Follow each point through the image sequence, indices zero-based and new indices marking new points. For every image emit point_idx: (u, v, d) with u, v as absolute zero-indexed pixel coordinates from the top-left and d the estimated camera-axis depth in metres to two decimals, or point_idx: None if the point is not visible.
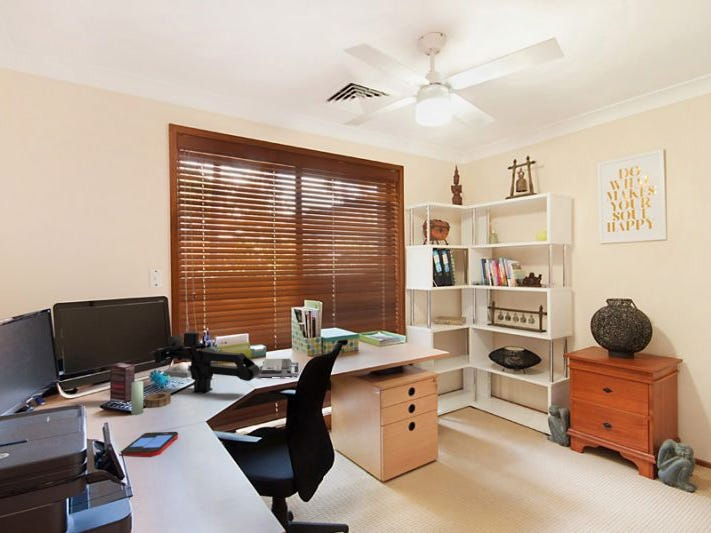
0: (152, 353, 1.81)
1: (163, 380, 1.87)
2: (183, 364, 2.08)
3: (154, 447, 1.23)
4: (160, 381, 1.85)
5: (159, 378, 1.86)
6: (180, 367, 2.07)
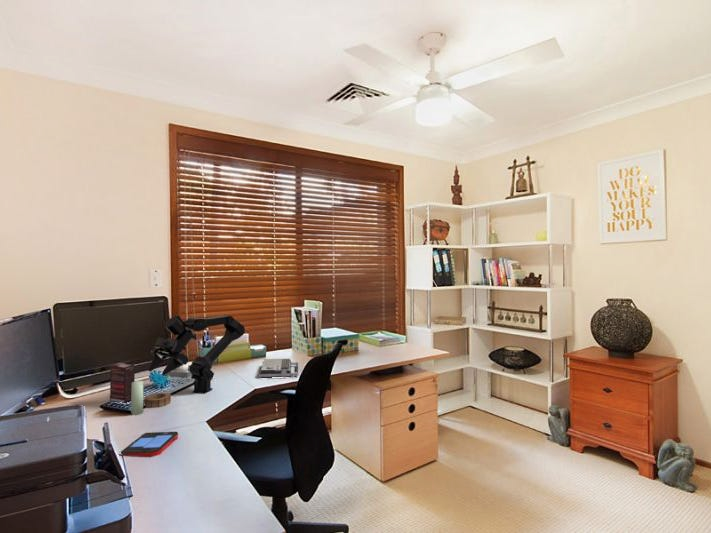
0: (168, 367, 1.60)
1: (163, 380, 1.87)
2: None
3: (154, 447, 1.23)
4: (160, 381, 1.85)
5: (159, 378, 1.86)
6: (180, 367, 2.07)
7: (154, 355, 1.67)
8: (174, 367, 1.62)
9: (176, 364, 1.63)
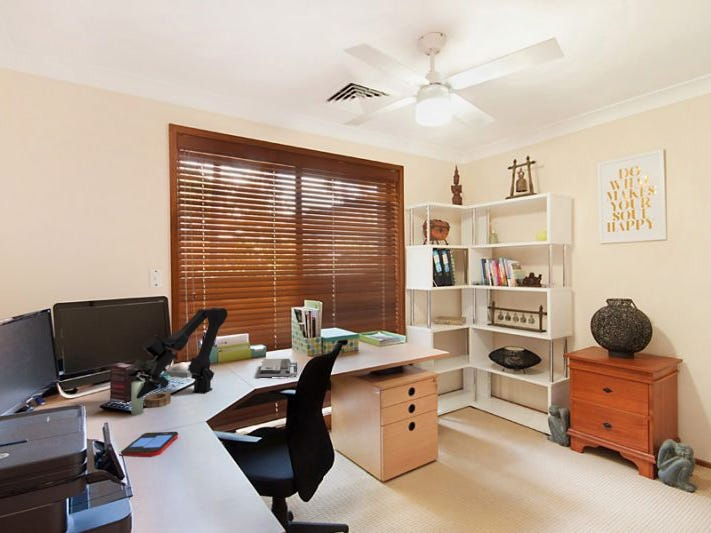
0: (143, 391, 1.53)
1: None
2: (183, 364, 2.08)
3: (154, 447, 1.23)
4: None
5: None
6: (180, 367, 2.07)
7: (136, 379, 1.57)
8: (149, 390, 1.55)
9: (152, 386, 1.55)
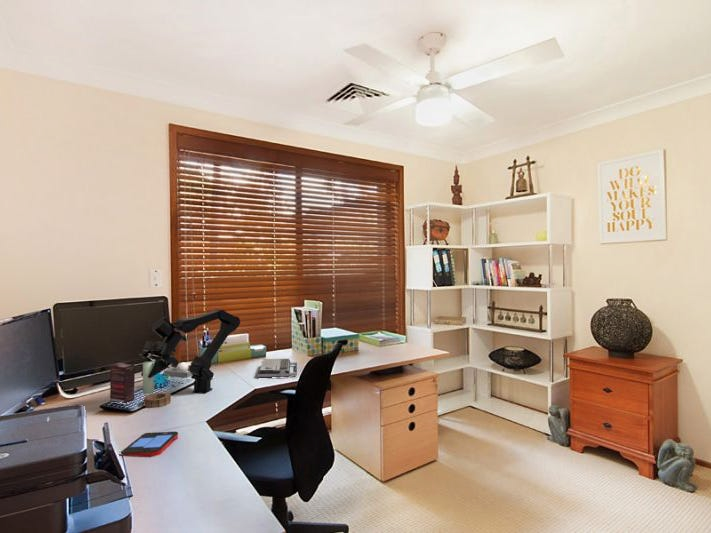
0: (154, 370, 1.58)
1: (162, 380, 1.87)
2: (183, 364, 2.08)
3: (154, 447, 1.23)
4: (159, 381, 1.85)
5: (158, 378, 1.86)
6: (180, 367, 2.07)
7: (146, 359, 1.62)
8: (160, 369, 1.60)
9: (162, 366, 1.61)
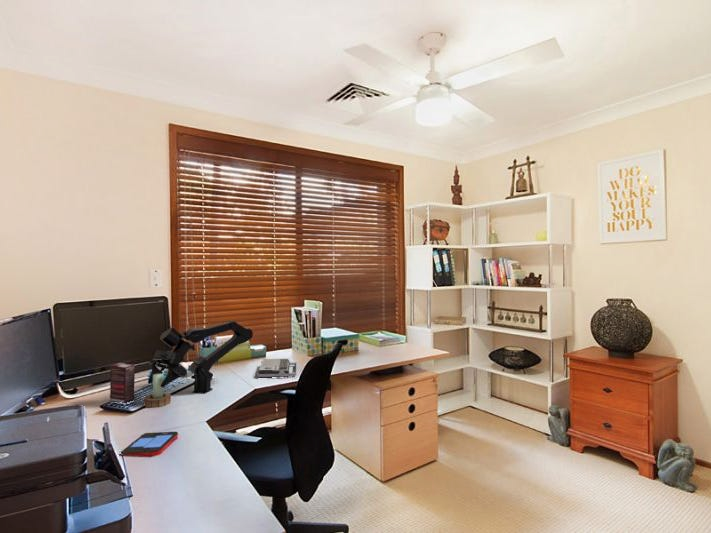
0: (166, 380, 1.62)
1: None
2: (183, 364, 2.08)
3: (154, 447, 1.23)
4: None
5: None
6: None
7: (153, 367, 1.68)
8: (172, 379, 1.64)
9: (174, 376, 1.65)
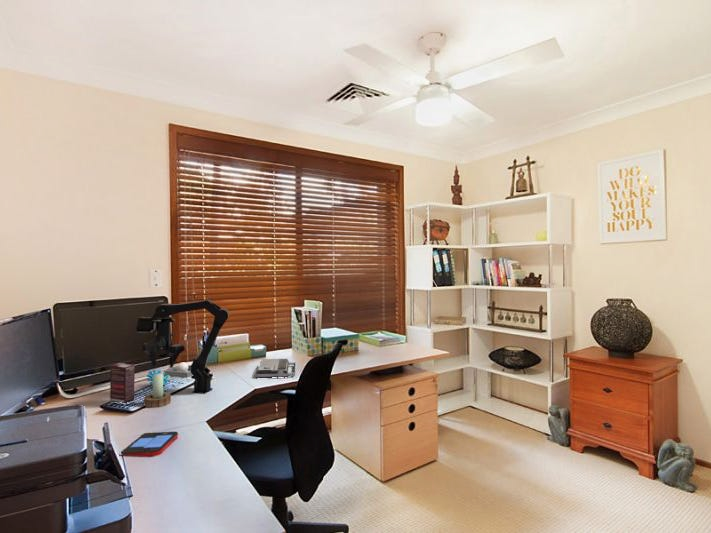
0: (172, 361, 1.75)
1: None
2: (183, 364, 2.08)
3: (155, 447, 1.23)
4: None
5: None
6: (180, 367, 2.07)
7: (148, 353, 1.76)
8: (176, 357, 1.77)
9: (176, 354, 1.77)
